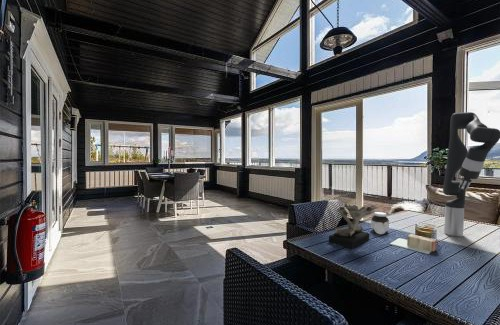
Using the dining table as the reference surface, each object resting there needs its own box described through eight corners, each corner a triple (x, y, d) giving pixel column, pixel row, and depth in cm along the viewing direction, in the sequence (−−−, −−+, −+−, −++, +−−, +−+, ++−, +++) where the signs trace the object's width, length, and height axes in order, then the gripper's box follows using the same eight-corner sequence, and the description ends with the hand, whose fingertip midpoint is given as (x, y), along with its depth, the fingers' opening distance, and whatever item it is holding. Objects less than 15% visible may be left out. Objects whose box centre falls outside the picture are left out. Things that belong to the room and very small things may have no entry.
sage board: (398, 238, 152) (399, 237, 152) (435, 247, 139) (435, 246, 139) (389, 244, 143) (389, 243, 143) (428, 254, 130) (428, 253, 130)
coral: (349, 232, 163) (350, 198, 162) (383, 241, 148) (384, 204, 147) (327, 241, 146) (328, 204, 145) (363, 252, 131) (364, 210, 130)
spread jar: (382, 229, 172) (383, 211, 171) (395, 234, 160) (395, 215, 160) (366, 229, 169) (366, 212, 169) (377, 235, 158) (378, 216, 158)
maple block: (436, 249, 135) (410, 243, 144) (436, 239, 135) (410, 234, 144) (433, 251, 132) (407, 245, 141) (434, 241, 132) (407, 236, 140)
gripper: (464, 161, 133) (452, 191, 140) (459, 168, 125) (447, 199, 132) (483, 166, 129) (470, 196, 136) (479, 174, 120) (465, 206, 127)
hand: (458, 198), depth 134 cm, fingers closed
